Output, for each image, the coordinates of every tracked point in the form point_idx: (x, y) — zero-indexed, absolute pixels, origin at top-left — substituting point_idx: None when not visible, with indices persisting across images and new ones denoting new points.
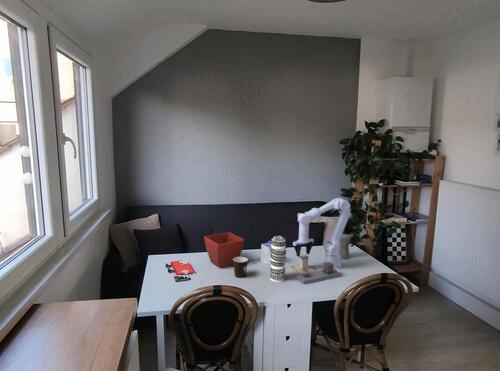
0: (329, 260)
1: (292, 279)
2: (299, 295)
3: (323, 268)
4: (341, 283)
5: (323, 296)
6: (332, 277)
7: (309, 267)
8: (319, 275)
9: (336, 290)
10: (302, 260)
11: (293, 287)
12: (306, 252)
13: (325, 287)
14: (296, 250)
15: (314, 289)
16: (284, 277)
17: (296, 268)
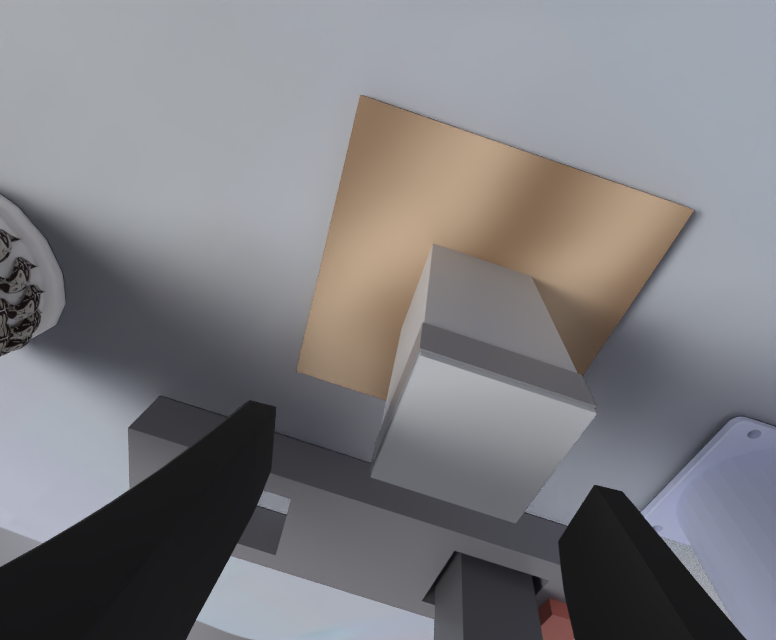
0: (742, 632)
1: (135, 372)
2: (40, 529)
3: (462, 600)
4: (431, 634)
5: None
6: None
7: None
8: (345, 565)
9: (307, 636)
10: (386, 411)
11: (57, 455)
12: (601, 520)
13: (280, 589)
14: (130, 540)
15: None
16: (11, 348)
17: (373, 241)
